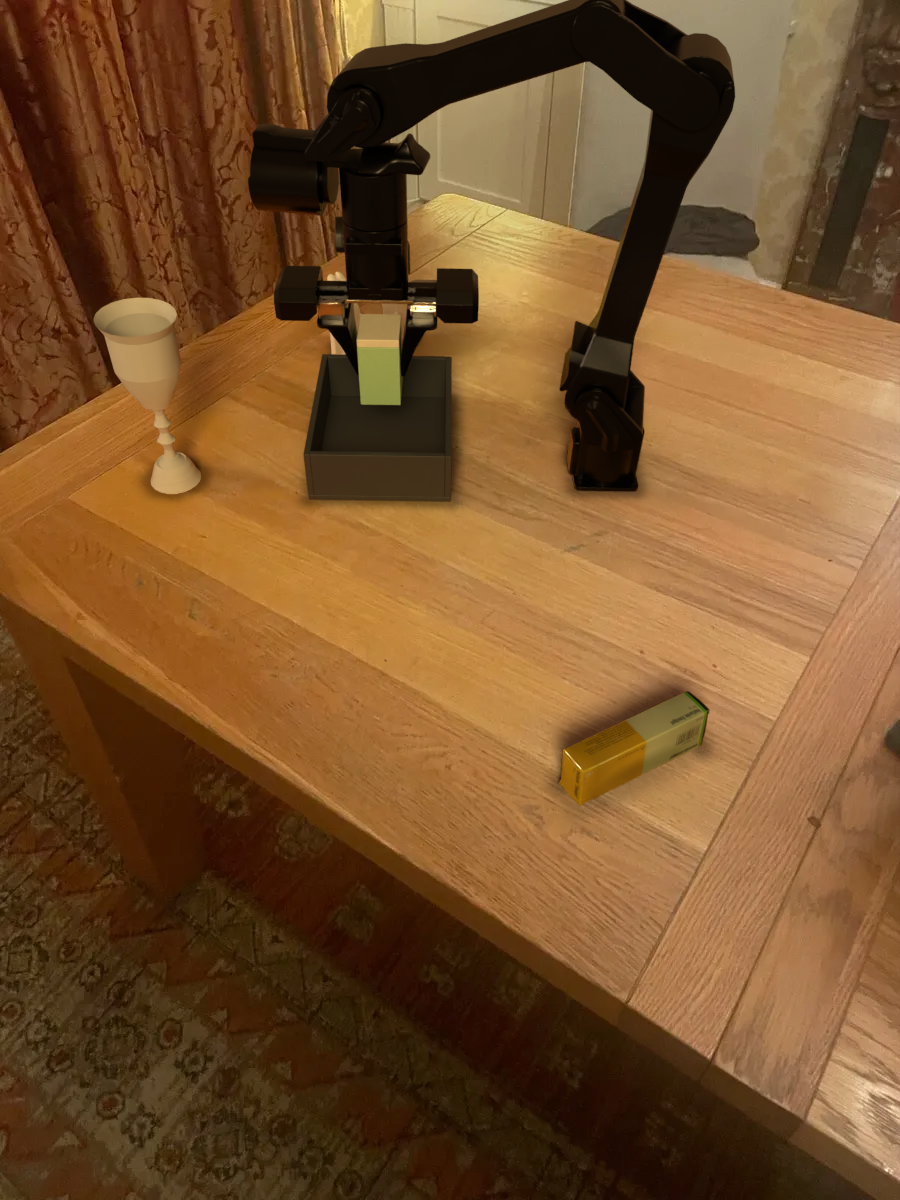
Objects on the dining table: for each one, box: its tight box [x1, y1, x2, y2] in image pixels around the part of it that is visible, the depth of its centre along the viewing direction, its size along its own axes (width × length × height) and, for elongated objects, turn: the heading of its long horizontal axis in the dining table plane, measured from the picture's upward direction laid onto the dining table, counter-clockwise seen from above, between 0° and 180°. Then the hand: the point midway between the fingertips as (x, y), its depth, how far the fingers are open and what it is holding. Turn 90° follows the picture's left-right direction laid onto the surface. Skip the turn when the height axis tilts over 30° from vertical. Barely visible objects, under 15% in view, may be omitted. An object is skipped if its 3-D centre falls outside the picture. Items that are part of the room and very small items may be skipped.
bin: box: [302, 353, 453, 503], centre depth 95 cm, size 14×18×6 cm
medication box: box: [558, 690, 711, 806], centre depth 68 cm, size 12×3×4 cm, turn 119°
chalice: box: [93, 297, 202, 495], centre depth 86 cm, size 7×7×18 cm
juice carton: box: [357, 313, 403, 405], centre depth 90 cm, size 4×5×7 cm
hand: (381, 373), depth 91 cm, fingers closed on juice carton, 4 cm apart
